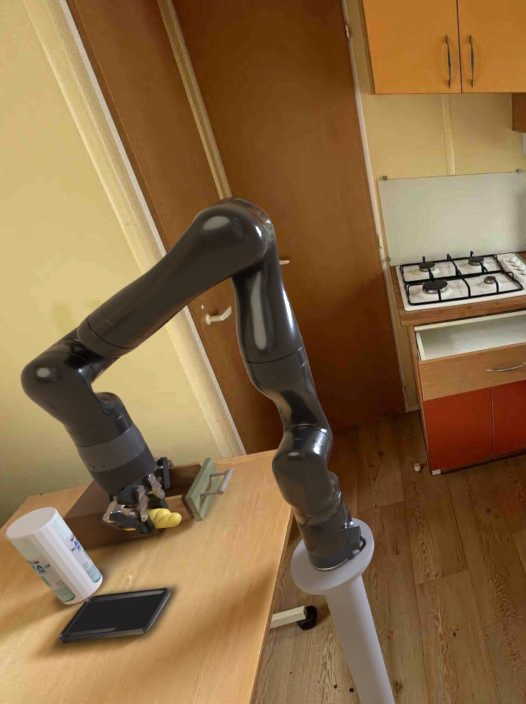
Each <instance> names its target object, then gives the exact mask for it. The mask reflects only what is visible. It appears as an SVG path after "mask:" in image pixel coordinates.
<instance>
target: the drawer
mask: <svg viewBox="0 0 526 704" xmlns="http://www.w3.org/2000/svg"><path fill="white" fill-rule="evenodd" d="M168 469H169V480H170V486H169V488H167V489H165V490H164V492H165V496H164V499H165V500H166V502H167V504H168V509H169V511H170V513H179V514H180V515H181V521H180V522H184V521H189V520H192V518H193V517H194V518H195V521H196V522H201V521H203V520H204V518H205V516H206V514H207V512H208V510H209V508H210V505H211V503H212V501H213V499H214V496H215V495H219V496H222V495H224V494H225V491H226V489H227V487H228V485H229V482H230V480H231V478H232V475H233V473H234V469H233V468H227V469H226V470H225V471H218V469H217V467H216V464H215V462H214V460H213V458H212V457H206V458H205V460H204V461H203V463H202V465H201V463H200V461H196V462H190V463H184V464H179V465H174V466H172V467H169V468H168ZM221 476H223V478H222V479H221ZM160 482H162V479H161V481H160ZM148 502H149V500H148ZM148 502H147V507H148V508H149V509H151V508H150V506H149V505H148Z"/></svg>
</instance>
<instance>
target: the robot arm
mask: <svg viewBox="0 0 526 704" xmlns="http://www.w3.org/2000/svg"><path fill="white" fill-rule="evenodd" d="M228 279H229V280H230V283H231V287H232V290H233V296H234V304H235V305H234V307H235V330H236V331H235V332H236V339H237V344H238V350H239V354H240V357H241V359H242V362H243V366H244V367H245V369H246V373H247V376H248V378H249V380H250V382H251V384H252V385H253V386H254V388H255V389H256V390H257V391H258V392H260V393H261V394H262V395H263V396H265V398H268V399H269V400H271V402H273V404H275V407H276V408H277V410H278V412H279V413H278V414H279V415H280V420H281V423H282V430H283V435H282V437H281V441H280V442H279V444H278V447H277V449H276V451H275V453H274V456H273V458H272V460H271V470H272V476H273V478H274V480H275V483H276V485H277V488H278V491H280V494H281V496H282V498H283V500H284V501H285V502H286V503H287V504H288V505H289V506H290V507H291V509H292V512H293V515H294V518H295V522H296V524H297V527H298V530H299V532H300V536H301V540H302V539H303V542H304V545H305V548H306V551H307V553H308V557H309V561H310V564H311V566H312V567H313V568H314V569H316V570H318V571H321V572H327V571H332V570H335V569H337V568H339V567H341V566H342V565H344V564H345V563H346V562H347V561H348V560H351V559H353V558H354V552H355V550H359V551H360V552H361V551H362V550H363V549H364V547H365V546H366V539H365V538H364V537H362V536H361V529H360V526H355V527H354V525H353V521H352V518H353V517H352V514H351V510H350V507H349V506H348V505H346V502H345V499H344V495H343V490H342V487H341V483H340V480H339V477H338V476H337V475H336V474H335V473H334V472H333V471H330V470H328V463H329V461H330V458H331V454H332V450H333V447H334V434H333V431H332V428H331V426H330V423H329V421H328V419H327V417H326V414H325V412H324V409H323V408H322V405H321V403H320V400H319V397H318V394H317V389H316V385H315V381H314V377H313V374H312V370H311V367H310V361H309V358H308V357H309V356H308V354H307V350H306V346H305V343H304V340H303V336H302V334H301V331H300V330H301V329H300V328H299V324H298V320H297V318H296V314H295V311H294V309H293V305H292V303H291V300H290V298H289V295H288V292H287V289H286V286H285V283H284V279H283V273H282V269H281V263H280V257H279V249H278V244H277V237H276V231H275V226H274V223H273V221H272V219H271V217H270V215H268V213H267V212H266V211H265V210H264V208H263V207H261V206H260V205H259V204H258V203H256V202H254V201H253V200H251V199H248V198H245V197H241V196H228V197H223V198H221V199H218V200H217V201H215V202H213V203H211V204H209V205H208V206H206V207H205V208H203V209H201V210H200V211H199V212H198V213H197V214H196V215H195V216H194V218H193V219H192V221H191V223H190V224H189V225H188V227H187V228H186V230H185V231H184V232H183V233H182V234H181V236H180V237H179V238H178V240H177V241H176V242H175V243H174V244H173V246H172V247H171V248H170V249H169V250H168V252H166V254H165V255H164V256H163V257H162V258H160V259H159V261H158V262H157V263H155V264H154V265H153V266H152V267H151V268H149V270H147V271H146V272H145V273H143V274H142V275H140V276H139V277H137V278H136V279H134V280H133V281H131V282H130V283H128V284H127V285H125V286H123V287H122V288H121V289H120V290H119V291H116V292H115V294H113V295H112V296H110V297H109V298H107V300H105V301H104V302H102V303H101V304H100V305H99V306H98V307H96V308H95V309H94V310H93V311H91V312H90V313H89V314H88V315H87V316H86V317H85V318H84V319H83V320H82V321H81V322H80V323H79V325H78V326H76V327H75V328H73V329H71V331H70V332H68V333H66V334H65V335H64V336H62V337H61V338H59V339H58V340H57V341H56V342H55V343H53V344H52V345H50V346H49V347H48V348H47V349H45V350H44V351H42V352H41V353H40V354H38V355H37V356H36V357H35V358H33V359H32V360H30V361H29V362H28V363H27V364H25V366H24V367H23V368H22V370H21V373H20V385H21V388H22V391H23V392H24V394H25V395H26V396H27V397H28V398H29V399H30V401H32V402H33V403H34V404H35V405H37V406H38V407H39V408H40V409H42V410H43V411H45V412H46V413H47V414H49V415H50V416H51V417H52V418H54V419H55V420H56V421H58V422H59V423H61V424H62V425H63V428H64V429H65V431H66V433H67V434H68V436H69V437H70V439H71V440H72V443H73V444H74V446H75V449H76V450H77V453H78V456H79V458H80V460H81V461H82V463H83V464H84V466H85V468H86V470H87V471H88V472H89V474H90V476H91V478H92V480H95V482H96V484H97V485H98V486H99V487H100V488H101V489H103V490H104V491H106V492H107V494H108V501H109V503H110V505H109V507H108V509H107V511H106V513H101V514H99V516H98V521H99V522H102V523H104V524H107V525H109V526H112V527H115V528H117V529H132V528H135V529H136V531H137V533H138V534H139V535H149V534H153V533H154V532H155V531H156V528H155V527H154V524H153V523H152V521H151V519H150V517H148V515H147V512H146V508H145V507H146V506H147V501H146V499H147V500H149V502H148V505H149V506H150V508H151V509H162V508H163V509H168V504H167V502H166V500H165V499H164V496H165V492H164V490H165V489H167V488H169V486H170V480H169V469H168V460H169V459H168V457H167V456H155V457H154V455H153V453H152V452H151V449H150V447H149V446H148V444H147V441H146V440H145V438H144V436H143V434H142V432H141V430H140V428H139V427H138V425H136V424H135V423H134V420H132V417H131V416H130V413H129V411H128V409H127V407H126V406H125V404H124V402H123V401H122V399H121V398H120V396H118V395H117V394H115V393H113V392H112V391H111V392H110V391H96V392H95V391H94V389H93V386H92V385H93V384H94V383H95V382H96V381H97V380H98V379H99V378H100V377H101V376H102V375H103V374H104V373H105V372H106V371H107V370H108V369H109V368H110V367H112V365H113V364H115V363H116V362H117V361H118V360H119V359H120V358H121V357H123V356H126V355H128V354H130V353H131V352H132V351H135V350H136V349H137V348H139V347H140V346H141V345H143V343H144V342H146V341H147V340H149V339H150V338H151V337H152V336H153V335H155V334H156V333H158V332H159V331H160V330H161V329H162V328H163V327H164V326H165V325H167V324H168V323H169V322H170V321H171V320H173V318H174V317H175V316H176V315H178V314H179V312H181V311H183V309H184V308H185V307H186V306H188V305H189V304H190V303H192V302H193V301H194V300H196V299H197V298H198V297H200V296H201V295H203V294H205V292H208V291H209V290H210V289H212V288H214V287H215V286H217V285H219V284H221V283H222V282H224V281H226V280H228ZM158 477H161V478H162V482H158ZM168 510H169V509H168ZM134 512H137V515H135V513H134ZM124 513H125V514H124ZM361 541H362V542H363V544H362V546H361V547H360V545H361Z"/></svg>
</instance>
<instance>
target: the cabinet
mask: <svg viewBox="0 0 526 704" xmlns="http://www.w3.org/2000/svg"><path fill="white" fill-rule="evenodd" d="M172 466H175V465H174V463H173V461H172V459H168V468H169V467H172ZM161 479H162V478H161V477H158V482H160V481H161ZM146 501H147V502H148V500H147V499H146ZM109 505H110V503H109V501H108V494H107V492H106V491H104V490H103V489H101V488H100V487H99V486H98V485H97V484H96V482H95V480H94V479H92V481H91V483H89V485H88V486H87V487H86V488H85V490H84V491H83V493H82V494H81V495H80V496H79V497H78V499H77V500H76V501H75V503H74V504H73V505H72V506H71V507H70V508H69V510H68V511H67V513H66V514H65V515H64V516H63V517H62V519H63V520H64V522H65V523H66V524H67V526H68V527H69V529H70V530H71V532H72V533H73V535H74V536H75V537H76V539H77V540H78V542H79V543H80V545H81V546H82V547H83V549H84V550H85V549H89V548H94V547H100V546H105V545H109V544H113V543H119V542H125V541H129V540H135V539H140V538H145V537H150V536H155V535H160V534H161V533H162V530H163V528H156V531H155V532H154V533H153V534H149V535H139V534H138V533H137V531H136V530H125V529H117V528H115V527H112V526H109V525H107V524H104V523H102V522H99V521H98V516H99V514H101V513H106V511H107V509H108V507H109ZM145 508H146V510H148V509H149V508H148V507H147V506H146V507H145ZM134 513H135V515H137V512H134ZM124 514H125V513H124Z"/></svg>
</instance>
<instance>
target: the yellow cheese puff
mask: <svg viewBox="0 0 526 704" xmlns="http://www.w3.org/2000/svg"><path fill="white" fill-rule="evenodd" d="M146 512H147V515H148V517H150V519H151V521H152V523H153V524H154V527H155V528H162V529H165V528H173V527H176V526H178V525H179V524H180V522H182V521H181V515H180V514H179V513H170V511H169V510H168V509H163V508H162V509H148V510H146ZM125 530H136V529H135V528H132V529H125Z"/></svg>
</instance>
